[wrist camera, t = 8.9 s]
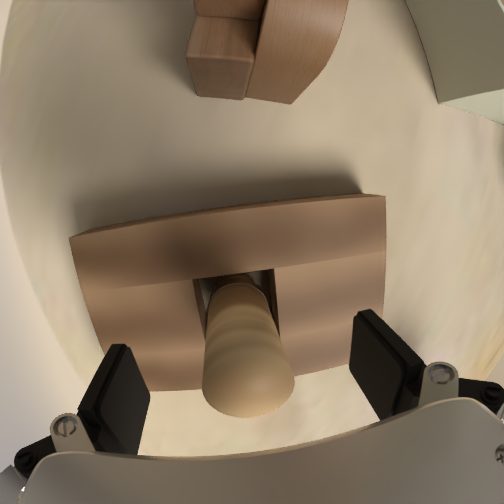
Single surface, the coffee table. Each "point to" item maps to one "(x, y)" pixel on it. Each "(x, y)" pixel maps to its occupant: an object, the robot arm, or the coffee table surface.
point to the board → (232, 262)
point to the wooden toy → (261, 46)
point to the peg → (243, 352)
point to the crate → (464, 52)
